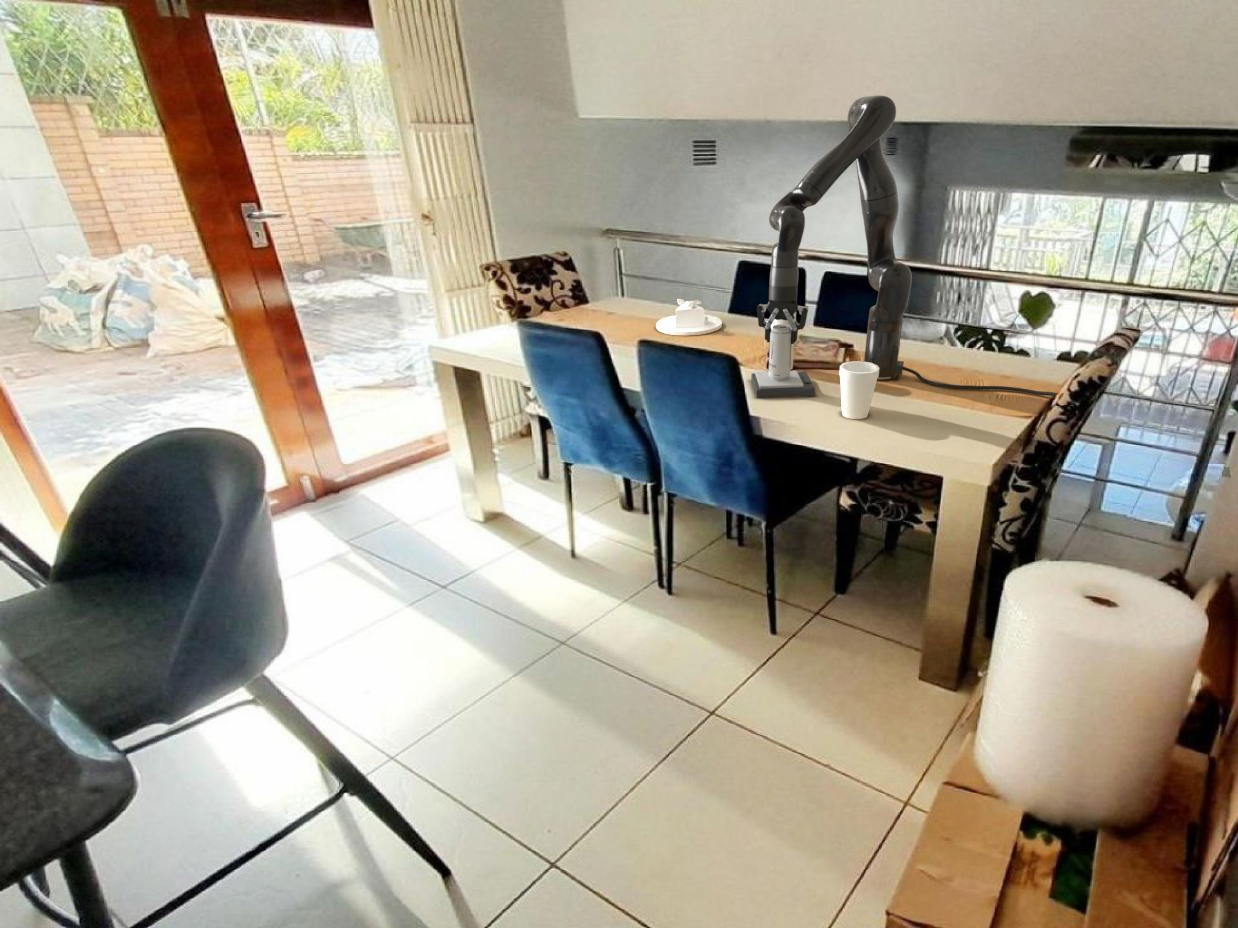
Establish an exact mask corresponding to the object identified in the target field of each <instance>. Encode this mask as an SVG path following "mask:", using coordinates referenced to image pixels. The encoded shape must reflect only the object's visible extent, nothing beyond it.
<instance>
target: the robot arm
mask: <svg viewBox="0 0 1238 928" xmlns="http://www.w3.org/2000/svg"><path fill="white" fill-rule="evenodd" d="M896 116H897V107H896V103H895V102H894V100H893V99H892V98H890V97H889V96H886V95H879V94H878V95H869V96H862V97H859V98H857V99H855V101H853V102H852V104H851V105H850V107H849V110H848V112H847V129H848V134H847V135H846V136H845V137H843V139H842V140H841V141H839V143H837V144H836V145H835V146H834V147H833V148H831V150H829V151H828V152H827V153H826V154H824V155H823V156H822V157H821V158H819V160H817V161H816V162H815V163H814V164H813V165H812V167H810V169H809V170H808V171H807V172H806V174H804V176H803V177H802V178H801V180H800V181H798V183H797V185H796V186H795V187H793V188H792V189H790V191H789V192H787V193H786V194H785V195H784V196H782V198H780V200H778V202H777V203H776V204H775V205H774V206H773V207H772V209H771V211H770V213H769V216H768V223H769V226H770V227H771V228H772V229H773V230H775V231H777V232H778V238H777V242H776V243H774V244H773V245H772V249H771V262H770V272H769V287H768V302H767V304H763V303H759V304H758V305H757V307H756V312H757V313H756V314H757V322H758V324H757V325H758V327H760V328H763V329H764V340H765V341H766V343H770V332H771V325H772V323H773V321H774V320H775V319H776V320H780V319H782V320H788V322H789V324H790V325H791V327H792V332H791V344H794V345H795V343H796V342H797V340H798V335H799V334H798V333H799V330H803V329H804V328H805V327H806V322H807V319H808V313H809V306H808V305H805V306H802V305H799V304H798V289H799V288H798V287H799V255H800V253H799V252H800V251H799V249H800V247H801V243H802V239H803V236H804V232H805V227H806V217H805V212H804V211H805V210H806V209H807V208H810V207H813V206H815V205H817V204H818V203H819V202H820V201H821V200H822V198H823V197H824V196H825V195H826V194H827V193H828V191H829V190H830V189H831V188H832V187H833V185H834V184H835V183H836V182H837V180H839V178H841V176H842V175H843V174H844V173H845V172H846V170H848V168H849V167H850V166H852V164H853V163H854V162H855V165H856V173H857V181H858V186H859V188H858V189H859V198H860V206H861V214H862V219H863V220H862V221H863V226H864V235H865V241H866V250H867V279H868V283H869V285H870V286H871V288H872V289H874V290H875V291H876V292H877V298H876V303H875V305H873V306H871V307H870V309H869V311H868V319H867V320H868V321H867V329H866V339H865V348H864V359H863V361H864V362H870V363H873V364H876V365H878V367H879V376H878V378H877V381H887V380H888V381H889V380H896V377H897V375H900V376H901V375H903V371H905V372H907V373H910V374H913V375H914V376H915V377H916V378H918V380H920V381H921V382H923V383H925V384H928V385H930V386H935V387H942V388H947V389H956V390H997V391H1011V392H1017V393H1019V392H1020V393H1026V394H1031V395H1037V396H1049V397H1055V396H1056V395H1057V394H1059V393H1058V392H1054V391H1040V390H1033V389H1029V388H1023V387H1015V386H1007V385H969V384H968V385H966V384H965V385H962V384H950V383H943V382H936V381H932V380H929V379H928V378H927V379H926V378H925V377H923V376H922V375H921V374H920V373H919V372H917V370H914V369H912V368H909V367H906V366H904V365H905V364H904V363H905V361H904V360H899V356H900V350H901V349H900V347H901V336H902V328H903V320H904V314H905V312H906V311H907V308H908V305H909V301H910V295H911V288H912V281H913V276H912V271H911V268H910V267H909V266H908V265H907V264H905V263H903V262H900V261H898V260H897V258H896V257H897V256H896V253H895V246H894V233H895V229H896V225H897V221H898V217H899V210H900V209H899V208H900V207H899V195H898V187H897V183H896V180H895V177H894V174H893V172H892V170H891V168H890V166H889V164H888V162H887V160H886V157H885V156H884V153H883V149H882V140H881V138H882V137H883V135H884V134H886V133H887V132H888V131H889V129H891V128H892V125H893V124H894V122H895V120H896ZM766 311H768V313H769V314H770V316H769V318H768V320H767V322H766V320H765V313H766ZM797 311H798V313H799V315H800V320H799V323H798V321H797V317H796V318H795V316H794V313H795V312H796V313H797Z"/></svg>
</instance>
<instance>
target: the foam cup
mask: <svg viewBox="0 0 1238 928" xmlns="http://www.w3.org/2000/svg"><path fill="white" fill-rule="evenodd" d="M878 376H879V367H878V365H876V364H873V363H870V362H864V360H862V361H861V360H854V361H853V360H852V361H846V362H843V363H841V364H840V365H839V381H840V383H839V384H840V403H841V414H842V416H843V417H845V418H847V419H850V420H863V419H865V418H867V417H868V415H869V411H870V408H871V404H872V400H873V396H874V393H875V389H876V385H877V381H878V380H877V378H878Z"/></svg>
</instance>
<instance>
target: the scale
mask: <svg viewBox="0 0 1238 928" xmlns="http://www.w3.org/2000/svg"><path fill="white" fill-rule="evenodd" d="M750 382H751V384H752V388H753V391H754V394H755V398H756V399H766V398H767V399H768V398H771V399H772V398H802V397H804V398H805V397H807V398H808V397H815V392H816V391H815V390H816V388H815V385H814V384H813V382H812V380H811V378H810V376H809V374H808V372H807V371H797V370H790V376H789V377H788V379H787V380H784V381H775V380H772V379H771V378H770V376H769V370H768V371H755V372H752V373H751V379H750Z"/></svg>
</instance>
